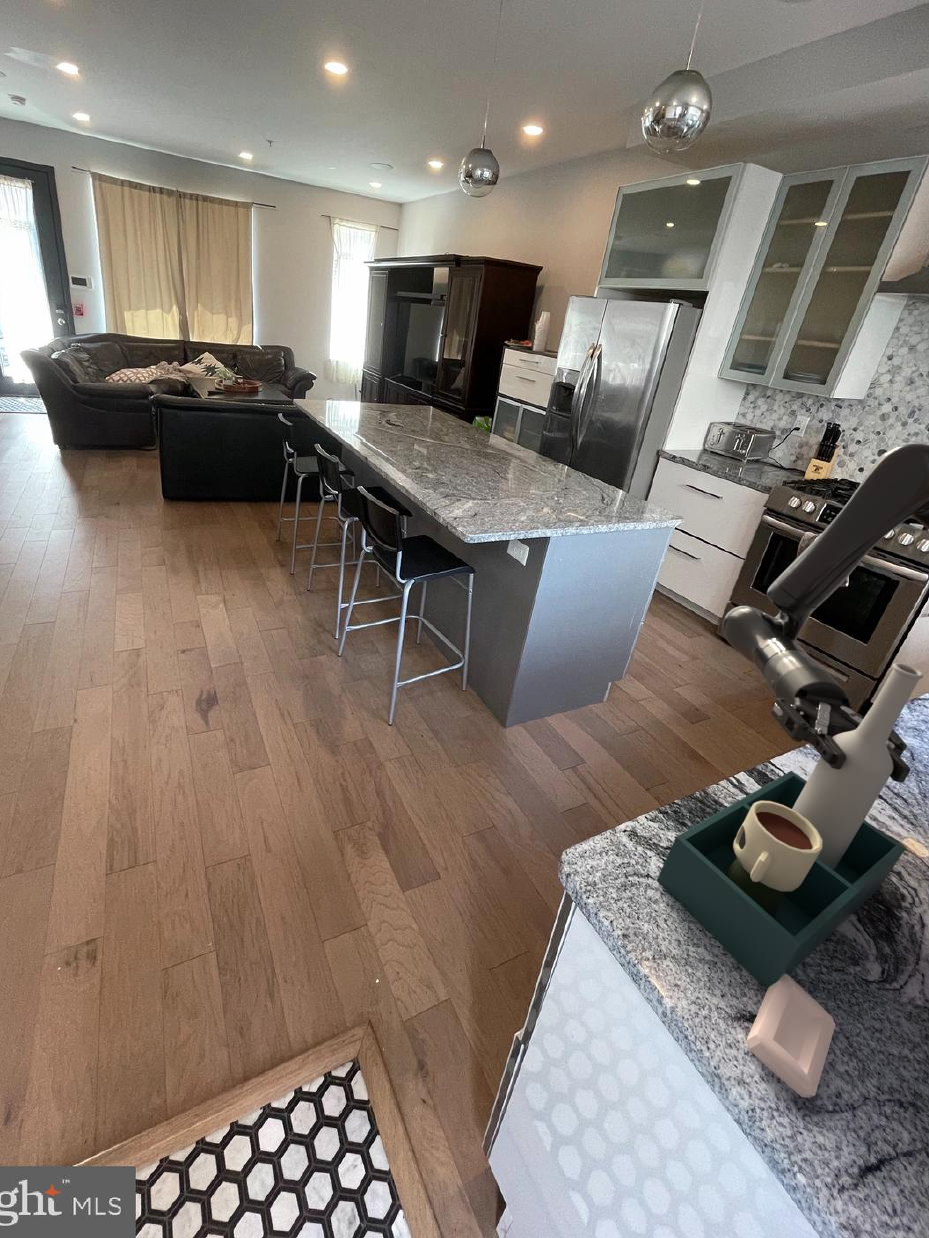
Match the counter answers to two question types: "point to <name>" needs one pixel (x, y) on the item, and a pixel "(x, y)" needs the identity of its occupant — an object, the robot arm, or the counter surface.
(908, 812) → the counter surface
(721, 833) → the divided storage tray
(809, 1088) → the soap bar
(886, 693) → the bottle
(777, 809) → the character mug
